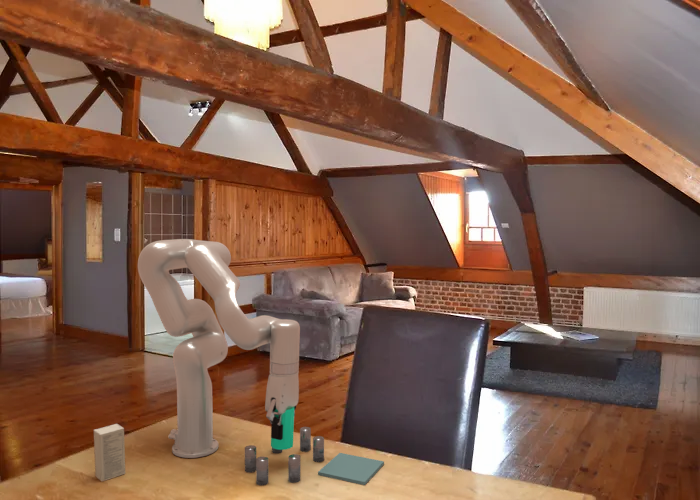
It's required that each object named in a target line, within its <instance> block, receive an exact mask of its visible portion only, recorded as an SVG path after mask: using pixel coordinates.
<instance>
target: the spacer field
mask: <svg viewBox="0 0 700 500" xmlns="http://www.w3.org/2000/svg"><path fill="white" fill-rule="evenodd" d="M311 428H312V427H309V426H303V427H300V428H299V451H300V452H304V453H306V452H307V453H308V452H309V451H311V450H312V461H313V462H314V463H323V462H324V461H325V438H324V437H323V436H321V435H317V436H313V437H312V436H311V434H312V430H311ZM311 438H312V439H311ZM311 441H312V443H311ZM311 444H312V446H311ZM311 447H312V449H311ZM283 451H284V450H278V449H274V448H272V447H271V453H272V454H276V455H277V454H282V453H283ZM287 461H288V463H287V464H288V467H287V468H288V470H287V471H288V473H287V475H288V476H287V477H288V478H287V479H288V480H287V481H288V482H289V483H291V484H296V483H299V482H300V481H301V455H300V454H296V453H295V454H293V453H292V454H289V455H288V459H287ZM244 472H245V473H247V474H251V473H255V475H256V476H255V479H256V480H255V481H256V482H255V483H256V485H258V486H266V485H268V484H269V457H268V456H263V455H262V456H258V457H257V446H256V445H246V446H245V447H244Z"/></svg>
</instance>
